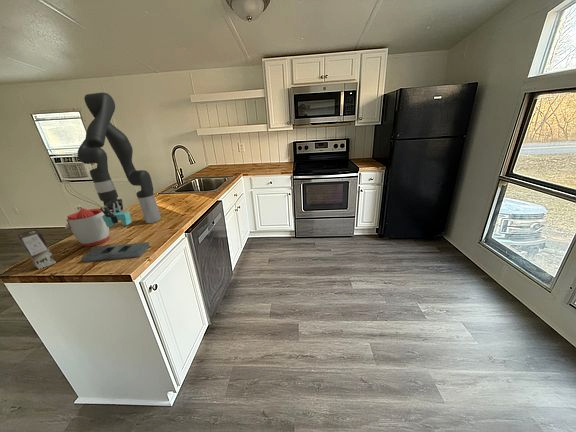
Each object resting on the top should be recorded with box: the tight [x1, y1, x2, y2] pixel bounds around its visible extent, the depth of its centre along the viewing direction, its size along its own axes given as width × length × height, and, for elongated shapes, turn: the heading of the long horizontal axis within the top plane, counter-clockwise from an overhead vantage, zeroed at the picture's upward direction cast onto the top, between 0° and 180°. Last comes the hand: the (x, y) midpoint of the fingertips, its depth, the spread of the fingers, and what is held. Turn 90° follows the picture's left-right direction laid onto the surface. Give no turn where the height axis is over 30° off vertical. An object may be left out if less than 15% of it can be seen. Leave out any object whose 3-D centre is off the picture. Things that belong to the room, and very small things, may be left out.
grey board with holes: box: [80, 241, 151, 263], centre depth 113 cm, size 10×26×2 cm, turn 94°
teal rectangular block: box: [102, 210, 133, 228], centre depth 120 cm, size 4×11×6 cm, turn 95°
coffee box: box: [16, 229, 57, 270], centre depth 106 cm, size 9×6×16 cm
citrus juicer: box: [64, 207, 110, 248], centre depth 124 cm, size 16×17×20 cm
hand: (118, 221), depth 120 cm, fingers closed on teal rectangular block, 4 cm apart
